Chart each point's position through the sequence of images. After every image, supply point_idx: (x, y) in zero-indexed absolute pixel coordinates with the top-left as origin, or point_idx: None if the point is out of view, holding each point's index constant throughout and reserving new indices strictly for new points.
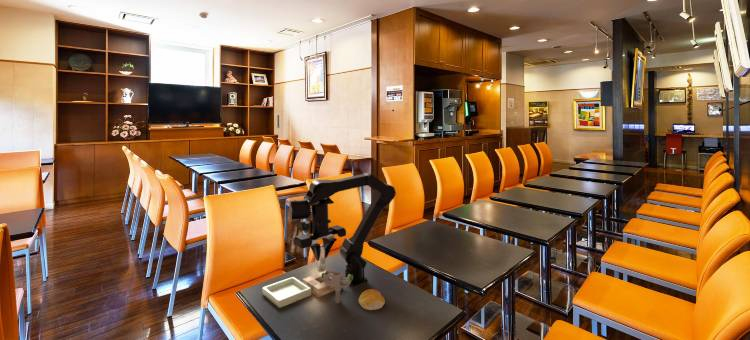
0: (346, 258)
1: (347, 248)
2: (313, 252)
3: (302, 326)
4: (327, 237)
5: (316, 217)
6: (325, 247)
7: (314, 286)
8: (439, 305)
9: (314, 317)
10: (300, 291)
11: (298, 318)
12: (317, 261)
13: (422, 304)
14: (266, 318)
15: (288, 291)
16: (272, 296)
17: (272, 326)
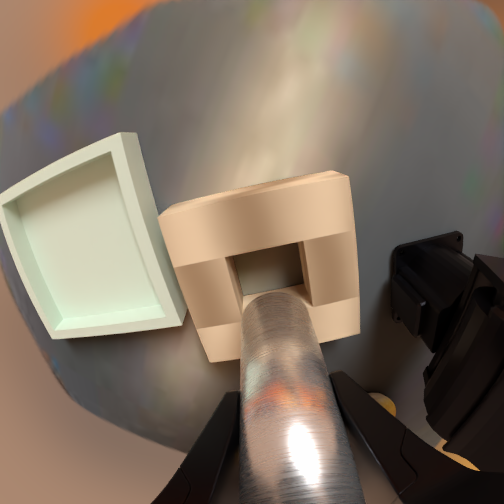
0: (429, 422)
1: (478, 447)
2: (188, 470)
3: (133, 420)
4: None
5: None
6: (370, 479)
7: (199, 335)
8: (435, 437)
9: (169, 412)
10: (128, 326)
11: (124, 395)
12: (240, 382)
13: (422, 433)
14: (42, 347)
15: (89, 243)
16: (29, 289)
17: (63, 382)
